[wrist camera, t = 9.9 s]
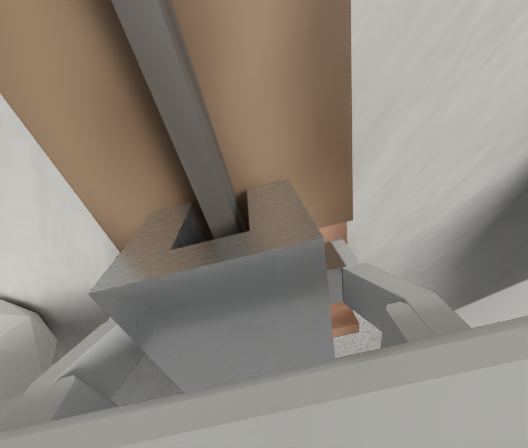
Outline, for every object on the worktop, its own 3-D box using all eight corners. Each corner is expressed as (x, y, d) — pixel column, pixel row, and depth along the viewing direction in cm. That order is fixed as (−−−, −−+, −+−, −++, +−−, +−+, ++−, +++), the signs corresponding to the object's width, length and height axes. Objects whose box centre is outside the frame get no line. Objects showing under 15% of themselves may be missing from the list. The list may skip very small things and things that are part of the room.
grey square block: (288, 178, 9) (324, 238, 5) (304, 277, 12) (334, 362, 8) (152, 211, 9) (88, 293, 5) (203, 301, 12) (185, 394, 8)
